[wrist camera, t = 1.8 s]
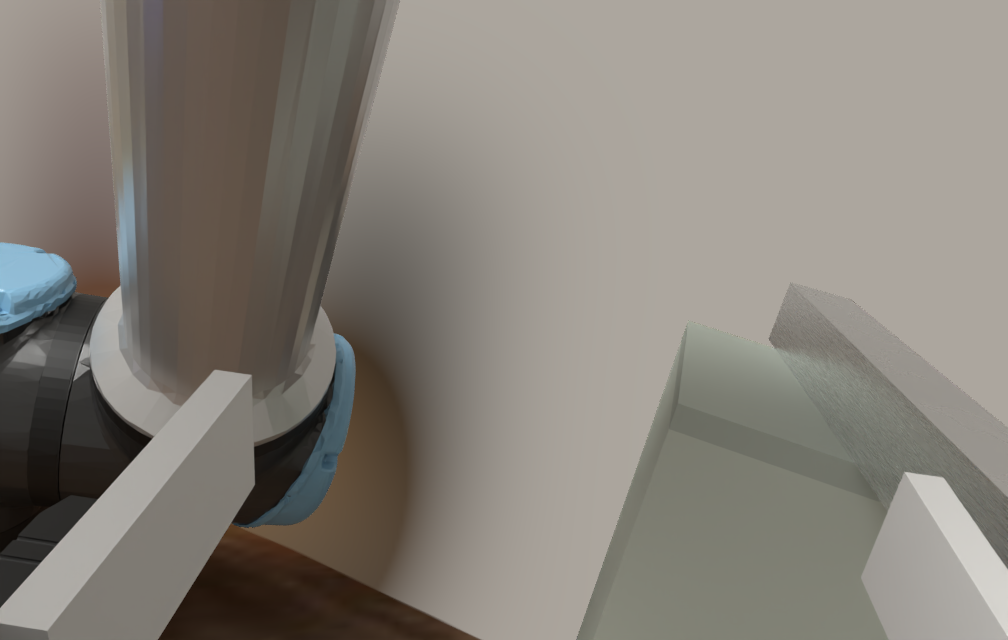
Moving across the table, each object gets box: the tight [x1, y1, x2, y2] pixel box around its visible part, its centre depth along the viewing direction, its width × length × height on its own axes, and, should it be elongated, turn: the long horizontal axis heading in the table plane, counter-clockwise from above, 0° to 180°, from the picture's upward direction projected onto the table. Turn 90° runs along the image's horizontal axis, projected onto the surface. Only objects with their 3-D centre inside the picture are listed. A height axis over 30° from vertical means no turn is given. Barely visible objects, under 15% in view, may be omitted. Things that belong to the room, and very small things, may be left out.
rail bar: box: [769, 283, 1008, 569], centre depth 27 cm, size 24×3×3 cm, turn 173°
